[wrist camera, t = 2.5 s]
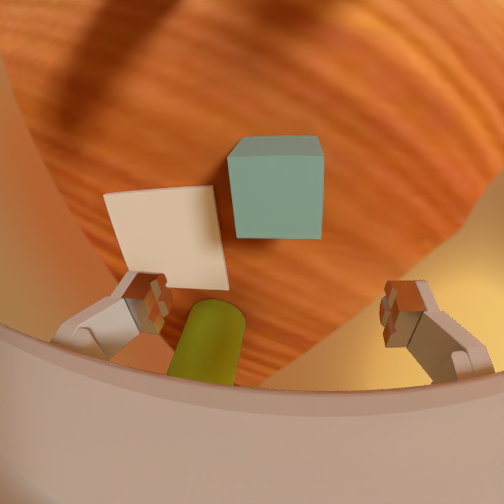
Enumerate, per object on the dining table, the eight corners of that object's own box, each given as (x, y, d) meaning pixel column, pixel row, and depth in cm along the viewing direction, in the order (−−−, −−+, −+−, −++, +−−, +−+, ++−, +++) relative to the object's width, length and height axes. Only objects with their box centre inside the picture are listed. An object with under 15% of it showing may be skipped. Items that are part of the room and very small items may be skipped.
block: (243, 136, 19) (227, 157, 15) (317, 135, 18) (324, 156, 14) (248, 201, 21) (236, 237, 17) (316, 202, 21) (321, 239, 17)
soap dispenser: (207, 283, 27) (133, 501, 11) (257, 324, 29) (221, 522, 13) (172, 307, 29) (102, 486, 13) (219, 342, 32) (176, 511, 16)
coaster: (105, 193, 22) (103, 195, 22) (213, 185, 21) (212, 187, 21) (136, 282, 28) (134, 284, 28) (229, 287, 27) (228, 290, 26)
